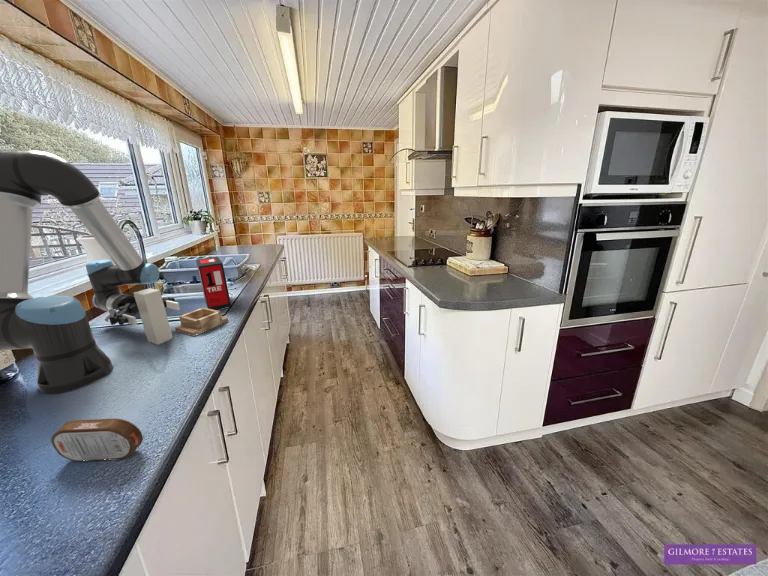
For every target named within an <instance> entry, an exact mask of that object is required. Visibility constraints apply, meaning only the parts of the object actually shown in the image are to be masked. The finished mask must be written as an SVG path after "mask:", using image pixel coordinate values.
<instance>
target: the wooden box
mask: <svg viewBox="0 0 768 576" xmlns="http://www.w3.org/2000/svg"><path fill="white" fill-rule="evenodd" d="M179 321H180V324H179V325H177V326H175V327H174V329H175V330H174V331H176V332H177V331H179V332H178V333H181V332H183V333H182V334H184V333H186V334H185V335H188V334H190V335H189V336H191V335H196V334H199V333H201V332H203V331H205V330H208V329H210V328H212V329H214V328H213V327H215V326H217V325H219V324H221V325H223V324H222V323H224V322H226V323H228V322H229V317H227V316H222V314H221V311H220V310H213V309H208V308H207V307H202V308H201V307H200V308H198V309H195V310H192V311H190V312H187V313H185V314H182V315H180V316H179ZM227 321H228V322H227ZM224 324H225V323H224ZM219 326H220V325H219ZM217 327H218V326H217ZM215 328H216V327H215ZM210 330H211V329H210ZM208 331H209V330H208ZM205 332H206V331H205ZM203 333H204V332H203ZM201 334H202V333H201ZM199 335H200V334H199ZM196 336H197V335H196Z"/></svg>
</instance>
